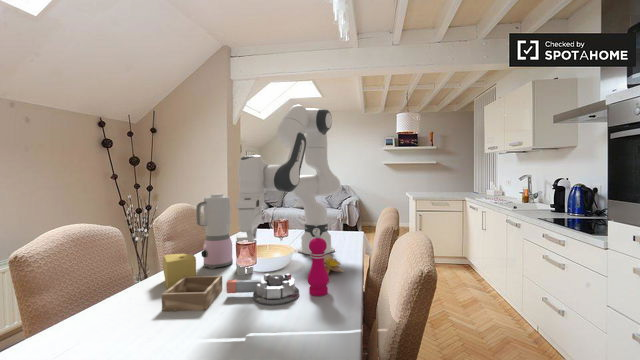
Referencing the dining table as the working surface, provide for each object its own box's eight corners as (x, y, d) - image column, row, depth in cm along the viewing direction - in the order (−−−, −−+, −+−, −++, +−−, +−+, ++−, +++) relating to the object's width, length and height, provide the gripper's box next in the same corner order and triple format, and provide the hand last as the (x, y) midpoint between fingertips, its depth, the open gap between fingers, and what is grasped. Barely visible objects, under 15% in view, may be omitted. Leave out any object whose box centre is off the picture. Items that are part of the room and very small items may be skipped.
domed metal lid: (258, 287, 102) (257, 270, 102) (300, 286, 102) (299, 269, 102) (248, 306, 87) (248, 286, 87) (297, 304, 87) (297, 285, 87)
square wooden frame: (184, 290, 99) (184, 276, 99) (222, 290, 100) (222, 275, 100) (162, 311, 84) (161, 294, 84) (206, 310, 85) (206, 293, 85)
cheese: (192, 275, 115) (191, 251, 115) (197, 284, 106) (197, 257, 106) (163, 281, 109) (162, 255, 109) (165, 290, 100) (165, 262, 100)
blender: (223, 260, 136) (222, 193, 136) (238, 265, 128) (237, 193, 128) (190, 268, 124) (189, 195, 124) (204, 274, 116) (203, 195, 116)
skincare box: (236, 270, 121) (235, 233, 121) (252, 268, 123) (251, 232, 123) (237, 276, 113) (236, 237, 113) (254, 274, 115) (253, 236, 115)
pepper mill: (327, 297, 92) (326, 236, 92) (305, 296, 94) (304, 235, 94) (330, 289, 99) (330, 231, 99) (310, 287, 101) (309, 231, 101)
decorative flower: (344, 279, 109) (344, 253, 109) (315, 279, 109) (314, 253, 109) (342, 266, 124) (342, 243, 124) (316, 267, 124) (316, 244, 124)
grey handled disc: (295, 283, 101) (295, 271, 101) (293, 297, 89) (293, 284, 89) (232, 285, 100) (232, 273, 100) (221, 299, 88) (221, 286, 88)
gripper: (249, 198, 111) (249, 234, 111) (234, 203, 90) (235, 247, 90) (265, 198, 111) (266, 234, 111) (254, 203, 90) (255, 247, 90)
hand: (252, 240), depth 100 cm, fingers open, 3 cm apart
